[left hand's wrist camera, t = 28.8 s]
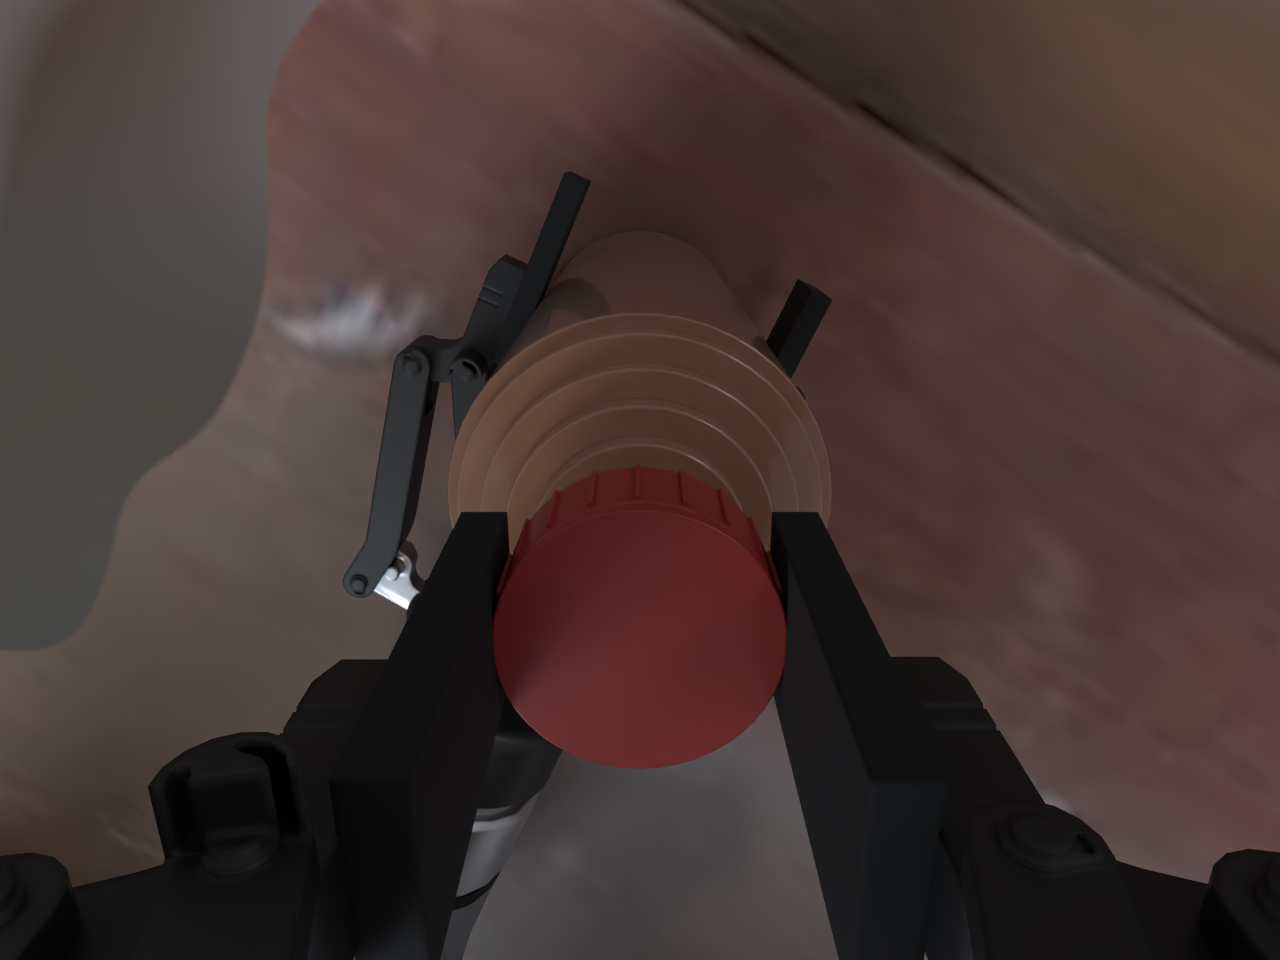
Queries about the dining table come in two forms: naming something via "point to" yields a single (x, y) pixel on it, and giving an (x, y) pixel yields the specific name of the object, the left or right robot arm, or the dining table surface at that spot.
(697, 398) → the bottle
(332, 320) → the dining table surface
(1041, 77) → the dining table surface
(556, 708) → the cap
